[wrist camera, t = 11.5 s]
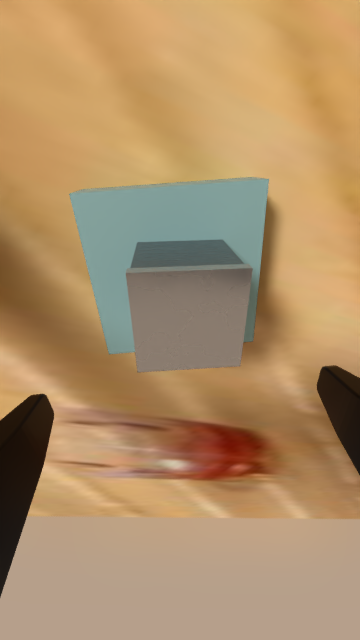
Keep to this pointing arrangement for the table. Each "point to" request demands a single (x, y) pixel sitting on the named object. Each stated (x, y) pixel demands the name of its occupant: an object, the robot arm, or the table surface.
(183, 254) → the tin
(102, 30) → the table surface
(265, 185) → the teal box
